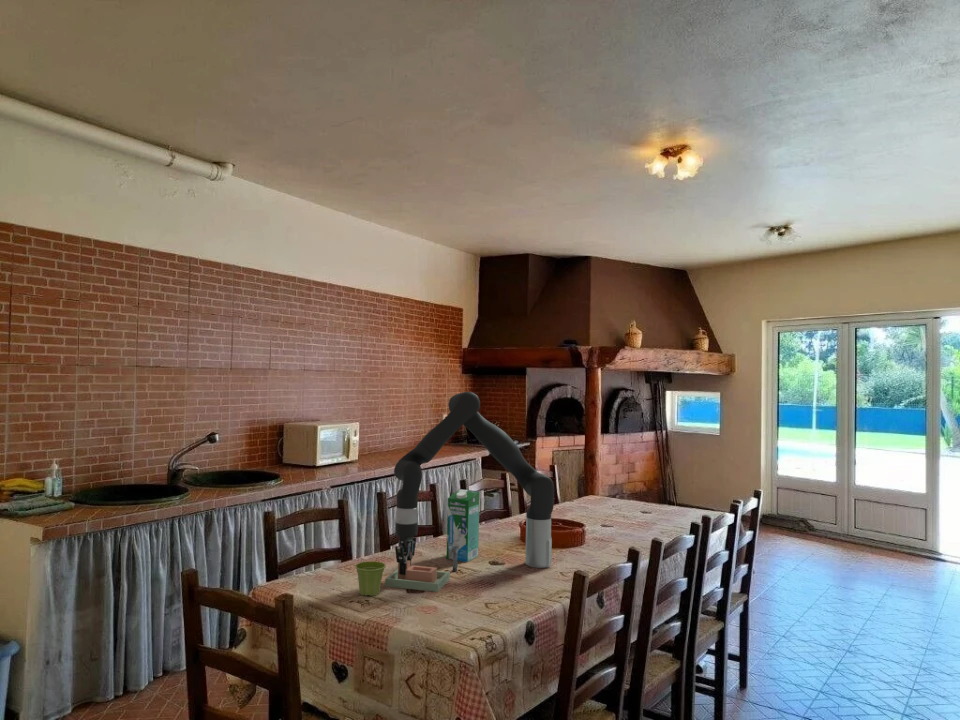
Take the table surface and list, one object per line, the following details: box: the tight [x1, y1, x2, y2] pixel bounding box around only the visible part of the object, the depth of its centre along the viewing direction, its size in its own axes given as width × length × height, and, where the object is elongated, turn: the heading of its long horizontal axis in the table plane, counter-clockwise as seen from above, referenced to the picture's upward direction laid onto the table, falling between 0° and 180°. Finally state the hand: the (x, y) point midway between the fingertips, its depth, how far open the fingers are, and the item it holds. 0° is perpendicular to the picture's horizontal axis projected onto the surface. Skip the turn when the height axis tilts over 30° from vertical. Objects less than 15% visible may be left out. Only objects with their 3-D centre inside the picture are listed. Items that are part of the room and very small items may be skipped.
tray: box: [384, 568, 451, 593], centre depth 205 cm, size 18×13×2 cm
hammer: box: [452, 546, 459, 572], centre depth 219 cm, size 2×5×8 cm, turn 166°
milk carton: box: [445, 488, 481, 563], centre depth 236 cm, size 9×9×25 cm
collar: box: [397, 560, 438, 583], centre depth 205 cm, size 12×6×6 cm, turn 76°
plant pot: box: [354, 560, 387, 597], centre depth 194 cm, size 9×9×9 cm
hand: (405, 572), depth 206 cm, fingers open, 4 cm apart
